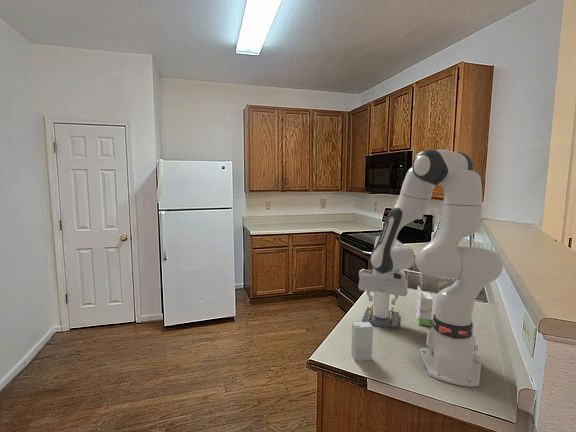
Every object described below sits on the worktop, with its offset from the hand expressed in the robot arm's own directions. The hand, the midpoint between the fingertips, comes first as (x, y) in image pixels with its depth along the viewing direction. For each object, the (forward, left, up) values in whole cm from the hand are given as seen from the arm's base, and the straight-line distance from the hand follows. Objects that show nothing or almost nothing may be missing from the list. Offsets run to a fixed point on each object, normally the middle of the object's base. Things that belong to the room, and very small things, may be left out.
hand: (381, 302), depth 139 cm
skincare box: (-35, +3, -8) cm, 35 cm away
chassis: (0, 0, -8) cm, 8 cm away
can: (0, 0, -6) cm, 6 cm away
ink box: (+5, -17, -8) cm, 20 cm away
